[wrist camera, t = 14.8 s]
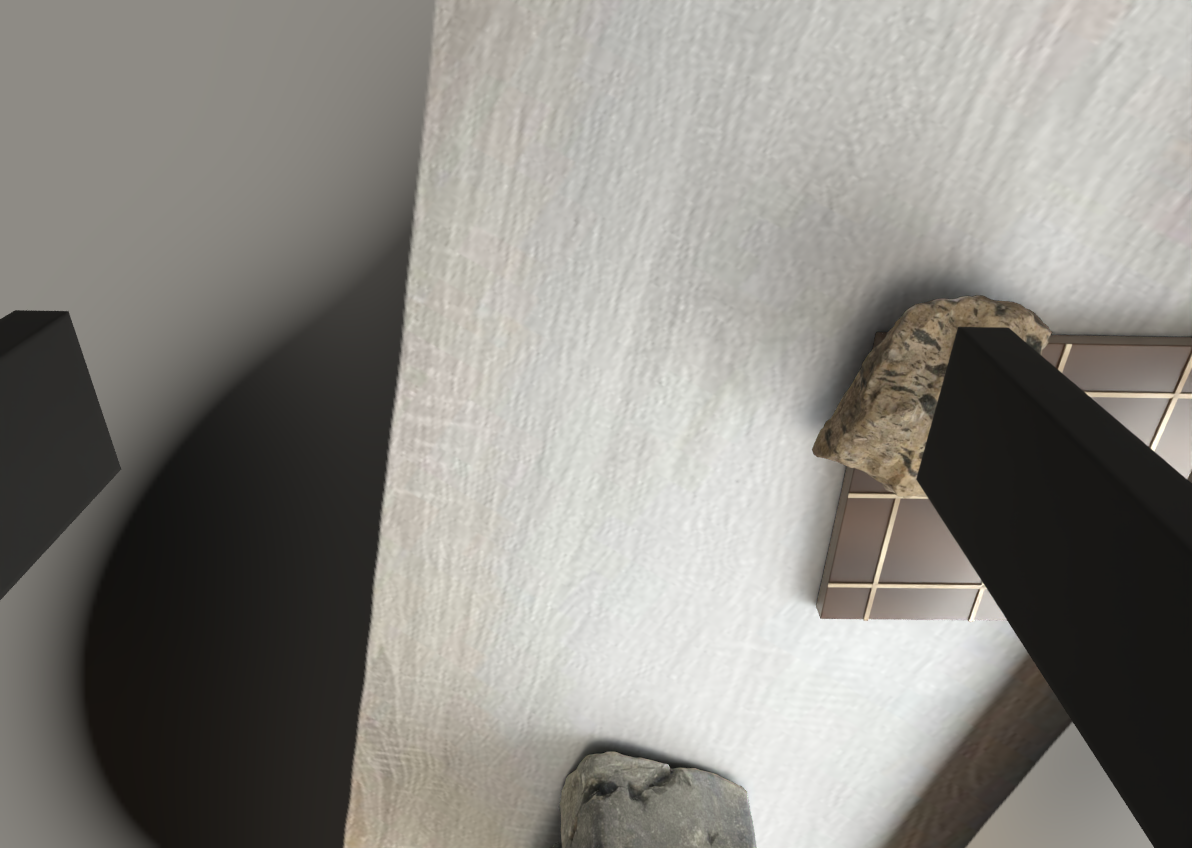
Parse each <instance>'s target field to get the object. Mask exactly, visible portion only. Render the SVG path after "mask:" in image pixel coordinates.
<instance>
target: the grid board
mask: <svg viewBox="0 0 1192 848" xmlns="http://www.w3.org/2000/svg"><path fill="white" fill-rule="evenodd" d="M887 334H888V332H876V335H875V340H874V344H873V349H874V348H875V347H876V346H878V345H879V344H880V343H881V342H882V341H883V340H884V339H885V337H886V336H887ZM873 349H872V350H873ZM1042 356H1043V357H1044V358H1045V359H1046V360H1047V361H1048V362H1050V363H1051V364H1052V365H1053V366H1054V367H1056V368H1057V369H1058V370H1059V371H1060V372H1061V373H1063V374H1064V375H1065V376H1066V377H1067V378H1068V379H1070V380H1071V381H1072V382H1073V383H1074V384H1076V385H1077V386H1078V387H1079V388H1080V389H1081V390H1083V391H1084V392H1085V393H1086V394H1087V395H1088V396H1090V397H1091V398H1092V399H1093V400H1094V401H1096V402H1097V403H1098V404H1099V405H1100V406H1101V407H1103V408H1104V409H1105V410H1106V411H1107V412H1108V413H1110V414H1111V415H1112V416H1113V417H1114V418H1116V419H1117V420H1118V421H1119V422H1120V423H1121V424H1123V425H1124V426H1125V427H1126V428H1127V429H1128V430H1130V431H1131V432H1132V433H1133V434H1134V435H1135V436H1137V437H1138V438H1139V439H1140V440H1141V441H1143V442H1144V443H1145V444H1146V445H1147V446H1148V447H1150V448H1151V449H1152V450H1153V451H1154V452H1155V453H1157V454H1158V455H1159V456H1160V457H1161V458H1163V459H1164V460H1165V461H1166V462H1167V463H1168V464H1170V465H1171V466H1172V467H1173V468H1174V469H1175V470H1177V471H1178V472H1179V473H1180V474H1181V475H1183V476H1184V477H1185V478H1186V479H1188V477H1189V475H1190V473H1191V471H1192V337H1139V336H1080V335H1050V337H1049V343H1048V344H1047V345H1046V347H1045V348H1044V349H1043V350H1042ZM816 608H817V610H818V613H819V616H820V618H821V619H863V620H864V621H868V619H911V620H968V621H969V622H973V621H974V620H1007V619H1006V618H1005V616H1004V615H1003V613H1002V611H1001V610H1000V608H999V607H998V605H997V604H996V602H995V601H994V599H993V598H992V596H991V594H990V593H989V591H988V590H987V588H986V587H985V585H984V584H983V582H982V581H981V579H980V577H979V576H978V574H977V573H976V571H975V570H974V568H973V567H972V565H971V564H970V562H969V560H968V559H967V557H966V556H965V554H964V553H963V551H962V550H961V548H960V547H959V545H958V543H957V542H956V540H955V539H954V537H953V536H952V534H951V533H950V531H949V529H948V528H947V526H946V525H945V523H944V522H943V520H942V519H941V517H940V516H939V514H938V512H937V511H936V509H935V508H934V506H933V505H932V503H931V502H930V500H929V499H928V497H918V496H912V497H910V498H909V499H906V498H903V497H898V496H897V495H896V494H895V493H893V492H890V491H888V490H886V489H885V488H884V486H883V485H882V484H881V483H880V482H878V481H876V480H875V479H874V478H872V477H871V476H870V475H868V474H867V473H865V472H864V471H862V470H859V469H856V468H850V467H848V466H847V467H846V472H845V477H844V481H843V486H842V490H841V495H840V499H839V504H838V508H837V513H836V518H835V522H834V527H833V531H832V536H831V540H830V545H829V550H828V554H827V559H826V563H825V568H824V572H823V577H822V581H821V586H820V591H819V595H818V600H817V604H816Z"/></svg>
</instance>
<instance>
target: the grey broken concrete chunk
mask: <svg viewBox="0 0 1192 848" xmlns="http://www.w3.org/2000/svg"><path fill="white" fill-rule="evenodd" d="M559 809H560V812H561V839H562V841H561V842H558V843H555V844H554V845H553V846H552V847H551V848H757V847H756V840H755V833H754V827H753V821H752V817H751V812H750V807H749V801H748V795H747V791H746V790H745V789H744V788H743V787H742V786H739V785H737V784H735V783H733V782H731V781H729V780H727V779H725V778H722V777H721V776H719V775H717V774H715V773H711V772H707V771H702V770H699V769H696V768H681V767H679V768H674V769H671V768H670V767H669V765H668V764H664V763H660V762H656V761H653V760H649V759H645V758H641V757H640V758H633V757H631V756H625V755H622V754H620V753H617V752H605V753H603V754H592V755H587V756H586V757H584V759H583V760H582V761H581V762H580V764H579V765H578V767H577V769H576V770H575V771H574V772H572V773H571V774H569V775H568V776H567V778H566V781H565V786H564V788H563V790H562V792H561V800H560V805H559Z"/></svg>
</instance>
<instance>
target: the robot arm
mask: <svg viewBox="0 0 1192 848" xmlns="http://www.w3.org/2000/svg"><path fill="white" fill-rule="evenodd" d="M120 470H121V467H120V465H119V461H118V458H117V455H116V452H115V449H114V446H113V444H112V440H111V437H110V435H109V431H108V428H107V425H106V423H105V419H104V417H103V414H102V410H101V408H100V404H99V402H98V399H97V395H96V393H95V389H94V386H93V384H92V381H91V378H90V374H89V372H88V369H87V366H86V363H85V360H84V357H83V354H82V351H81V348H80V345H79V342H78V339H77V336H76V333H75V330H74V327H73V324H72V321H71V318H70V315H69V312H68V311H19V310H18V311H17V310H16V311H13V312H12V313H10V314H8V315H7V316H5V317H3V318H2V319H0V600H1V599H2V598H3V597H4V596H5V595H6V593H7V592H8V591H9V590H10V589H11V588H12V587H13V586H14V585H15V584H16V583H17V581H18V580H19V579H20V578H21V577H22V576H23V575H24V574H25V573H26V572H27V571H28V570H29V568H30V567H31V566H32V565H33V564H34V563H35V562H36V561H37V560H38V559H39V558H40V557H41V555H42V554H43V553H44V552H45V551H46V550H47V549H48V548H49V547H50V546H51V545H52V544H53V543H54V541H55V540H56V539H57V538H58V537H59V536H60V535H61V534H62V533H63V532H64V531H65V530H66V528H67V527H68V526H69V525H70V524H71V523H72V522H73V521H74V520H75V519H76V517H77V516H78V515H79V514H80V513H81V512H82V511H83V510H84V509H85V508H86V507H87V506H88V505H89V504H90V502H91V501H92V500H93V499H94V498H95V497H96V496H97V495H98V494H99V493H100V492H101V491H102V489H103V488H104V487H105V486H106V485H107V484H108V483H109V482H110V481H111V480H112V479H113V478H114V476H115V475H116V474H117V473H118V472H119V471H120ZM916 480H917V482H918V483H919V485H920V486H921V488H922V489H923V491H924V492H925V494H926V495H927V497H928V499H929V500H930V502H931V503H932V505H933V506H934V508H935V509H936V511H937V512H938V514H939V516H940V517H941V519H942V520H943V522H944V523H945V525H946V526H947V528H948V529H949V531H950V533H951V534H952V536H953V537H954V539H955V540H956V542H957V543H958V545H959V547H960V548H961V550H962V551H963V553H964V554H965V556H966V557H967V559H968V560H969V562H970V564H971V565H972V567H973V568H974V570H975V571H976V573H977V574H978V576H979V577H980V579H981V581H982V582H983V584H984V585H985V587H986V588H987V590H988V591H989V593H990V594H991V596H992V598H993V599H994V601H995V602H996V604H997V605H998V607H999V608H1000V610H1001V611H1002V613H1003V615H1004V616H1005V618H1006V619H1007V621H1008V622H1009V624H1010V625H1011V627H1012V628H1013V630H1014V632H1015V633H1016V635H1017V636H1018V638H1019V639H1020V641H1021V642H1022V644H1023V645H1024V647H1025V649H1026V650H1027V652H1028V653H1029V655H1030V656H1031V658H1032V659H1033V661H1034V662H1035V664H1036V666H1037V667H1038V669H1039V670H1040V672H1041V673H1042V675H1043V676H1044V678H1045V679H1046V681H1047V683H1048V684H1049V686H1050V687H1051V689H1052V690H1053V692H1054V693H1055V695H1056V696H1057V698H1058V700H1059V701H1060V703H1061V704H1062V706H1063V707H1064V709H1065V710H1066V712H1067V714H1068V715H1069V717H1070V718H1071V720H1072V721H1073V723H1074V724H1075V726H1076V727H1077V729H1078V730H1079V732H1080V734H1081V735H1082V737H1083V738H1084V740H1085V741H1086V743H1087V744H1088V746H1089V748H1090V749H1091V751H1092V752H1093V754H1094V755H1095V757H1096V758H1097V760H1098V761H1099V763H1100V765H1101V766H1102V768H1103V769H1104V771H1105V772H1106V773H1107V775H1108V777H1109V778H1110V780H1111V782H1112V783H1113V785H1114V786H1115V788H1116V789H1117V791H1118V792H1119V794H1120V795H1121V797H1122V798H1123V800H1124V801H1125V803H1126V805H1127V806H1128V808H1129V809H1130V811H1131V812H1132V814H1133V816H1134V817H1135V819H1136V820H1137V822H1138V823H1139V825H1140V826H1141V828H1142V829H1143V831H1144V833H1145V834H1146V836H1147V837H1148V839H1149V840H1150V842H1151V843H1152V845H1153V846H1154V848H1192V483H1191V482H1190V481H1188V480H1187V479H1186V478H1185V477H1184V476H1183V475H1181V474H1180V473H1179V472H1178V471H1177V470H1175V469H1174V468H1173V467H1172V466H1171V465H1170V464H1168V463H1167V462H1166V461H1165V460H1164V459H1163V458H1161V457H1160V456H1159V455H1158V454H1157V453H1155V452H1154V451H1153V450H1152V449H1151V448H1150V447H1148V446H1147V445H1146V444H1145V443H1144V442H1143V441H1141V440H1140V439H1139V438H1138V437H1137V436H1135V435H1134V434H1133V433H1132V432H1131V431H1130V430H1128V429H1127V428H1126V427H1125V426H1124V425H1123V424H1121V423H1120V422H1119V421H1118V420H1117V419H1116V418H1114V417H1113V416H1112V415H1111V414H1110V413H1108V412H1107V411H1106V410H1105V409H1104V408H1103V407H1101V406H1100V405H1099V404H1098V403H1097V402H1096V401H1094V400H1093V399H1092V398H1091V397H1090V396H1088V395H1087V394H1086V393H1085V392H1084V391H1083V390H1081V389H1080V388H1079V387H1078V386H1077V385H1076V384H1074V383H1073V382H1072V381H1071V380H1070V379H1068V378H1067V377H1066V376H1065V375H1064V374H1063V373H1061V372H1060V371H1059V370H1058V369H1057V368H1056V367H1054V366H1053V365H1052V364H1051V363H1050V362H1048V361H1047V360H1046V359H1045V358H1044V357H1043V356H1041V355H1040V354H1039V353H1038V352H1037V351H1036V350H1034V349H1033V348H1032V347H1031V346H1030V345H1029V344H1027V343H1026V342H1025V341H1024V340H1023V339H1021V338H1020V337H1019V336H1018V335H1017V334H1016V333H1014V332H1013V331H1012V330H1011V329H1010V328H1004V327H958V329H957V333H956V336H955V340H954V343H953V347H952V351H951V354H950V358H949V362H948V365H947V369H946V373H945V376H944V380H943V383H942V387H941V391H940V394H939V398H938V402H937V405H936V409H935V413H934V416H933V420H932V424H931V427H930V431H929V434H928V438H927V442H926V445H925V449H924V453H923V456H922V460H921V464H920V467H919V471H918V474H917V478H916Z"/></svg>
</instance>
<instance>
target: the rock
mask: <svg viewBox="0 0 1192 848" xmlns="http://www.w3.org/2000/svg"><path fill="white" fill-rule="evenodd" d="M958 327H1004V328H1010V329H1011V330H1012V331H1013V332H1014V333H1016V334H1017V335H1018V336H1019V337H1020V338H1021V339H1023V340H1024V341H1025V342H1026V343H1027V344H1029V345H1030V346H1031V347H1032V348H1033V349H1034V350H1036V351H1037V352H1038V353H1039V354H1040V355H1041V356H1042V350H1043V349H1044V348H1045V347H1046V345H1047V344H1048V343H1049V337H1050V335H1051V334H1052V332H1051V331H1050V329H1049V327H1048V326H1047V325H1046V324H1044V323H1043V321H1042V320H1041V319H1040V318H1039V317H1038V316H1037V315H1036V314H1035V313H1034V312H1032V311H1031V310H1029V309H1026V308H1024V307H1023V306H1022V305H1020V304H1018V303H1014V302H1008V301H994V300H991V299H988V298H987V297H985V296H979V295H975V296H973V297H970V296H963V297H959V298H957V299H944V298H943V299H935V300H932V301H929V302H924V303H919V304H916V305H914V306H912V307H911V308H909V309H908V310H906V311H905V312H904V314H903V315H902V317H901V318H900V319H898V320H897V321H896V322H895V325H894V327H893V328H892V329H890V330H889V332H888V334H887V336H886V337H885V339H884V340H883V341H882V342H881V343H880V344H879V345H878V346H876V347H875V348H874V349H873V350H872V351H871V352H870V353H869V354H868V355H867V357H866V359H865V360H864V362H863V363H862V367H861V369H860V371H859V372H858V374H857V376H856V378H855V379H854V381H853V383H852V384H851V386H850V388H849V389H848V390H847V391H846V393H845V394H844V396H843V398H842V399H841V401H840V403H839V404H838V406H837V408H836V410H835V412H834V414H833V416H832V418H831V419H829V420H828V421H827V422H826V423H825V425H824V427H823V428H822V429H821V430H820V432H819V434H818V437H817V439H816V441H815V443H814V446H813V448H812V451H813V454H814V455H816V456H817V457H821V458H826V459H829V460H832V461H836V462H839V463H841V464H843V465H846V466H848V467H850V468H856V469H859V470H862V471H864V472H865V473H867V474H868V475H870V476H871V477H872V478H874V479H875V480H876V481H878V482H880V483H881V484H882V485H883V486H884V488H885V489H886V490H888V491H890V492H893V493H895V494H896V495H897V496H898V497H903V498H906V499H909V498H910V497H912V496H918V497H927V495H926V494H925V492H924V491H923V489H922V488H921V486H920V485H919V483H918V482H917V480H916V478H917V474H918V471H919V467H920V464H921V460H922V456H923V453H924V449H925V445H926V442H927V438H928V434H929V431H930V427H931V424H932V420H933V416H934V413H935V409H936V405H937V402H938V398H939V394H940V391H941V387H942V383H943V380H944V376H945V373H946V369H947V365H948V362H949V358H950V354H951V351H952V347H953V343H954V340H955V336H956V333H957V329H958Z"/></svg>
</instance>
